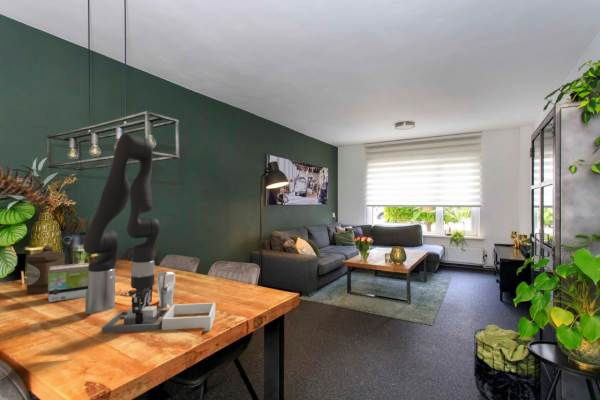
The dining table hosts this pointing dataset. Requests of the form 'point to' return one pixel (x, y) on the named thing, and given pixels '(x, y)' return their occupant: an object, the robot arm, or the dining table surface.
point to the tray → (131, 328)
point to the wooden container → (41, 269)
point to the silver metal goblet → (166, 288)
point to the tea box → (67, 281)
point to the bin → (189, 322)
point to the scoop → (145, 319)
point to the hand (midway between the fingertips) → (142, 319)
